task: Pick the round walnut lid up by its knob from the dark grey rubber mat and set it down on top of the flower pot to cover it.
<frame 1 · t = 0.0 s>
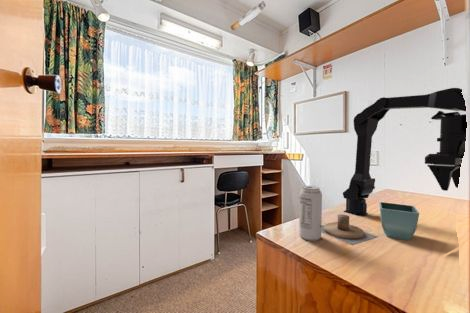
hand: (452, 189, 61), 15 cm above the worktop, tool pointing down, fingers open, 9 cm apart
energy drink can: (310, 239, 63), on the worktop
mat: (343, 233, 67), on the worktop
lid: (343, 232, 67), resting on mat
flower pot: (396, 237, 64), on the worktop
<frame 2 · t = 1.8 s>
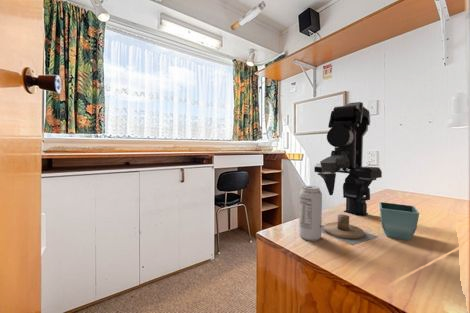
hand: (343, 198, 66), 11 cm above the worktop, tool pointing down, fingers open, 9 cm apart
nothing on the worktop moved.
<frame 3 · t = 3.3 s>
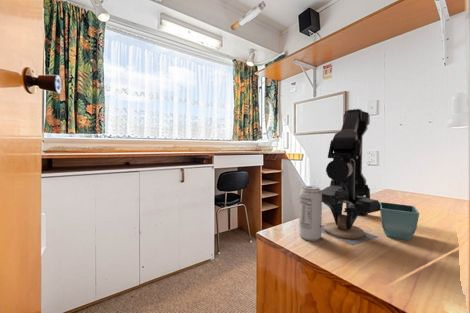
hand: (343, 227, 67), 2 cm above the worktop, tool pointing down, fingers closed on lid, 3 cm apart
lid: (343, 231, 67), resting on mat, touching gripper
everything else where it was.
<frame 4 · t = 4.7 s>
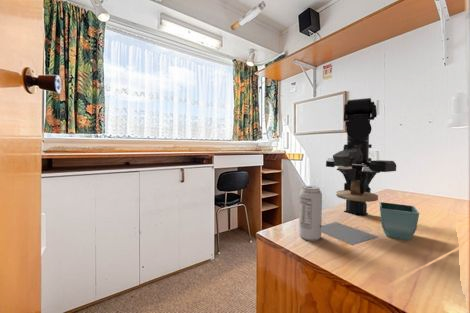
hand: (356, 192, 66), 13 cm above the worktop, tool pointing down, fingers closed on lid, 3 cm apart
lid: (356, 197, 66), point 11 cm above the worktop, touching gripper
everything else where it was.
when the fingers open (12 cm above the worktop, at t = 5.9 s): lid drops 1 cm, resting on flower pot.
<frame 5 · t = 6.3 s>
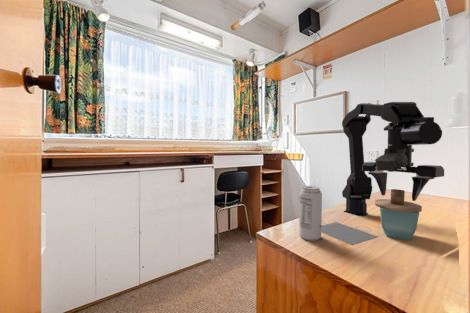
hand: (397, 197, 64), 12 cm above the worktop, tool pointing down, fingers open, 8 cm apart
lid: (397, 206, 64), point 9 cm above the worktop, touching flower pot
flower pot: (396, 237, 64), on the worktop, touching lid
everything else where it was.
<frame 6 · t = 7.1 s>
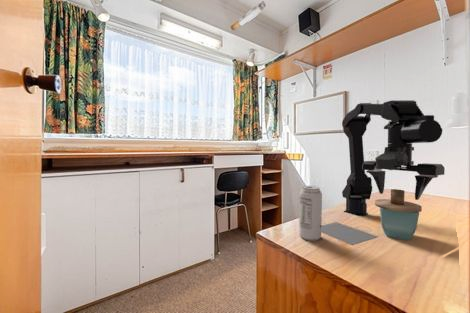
hand: (398, 196, 64), 12 cm above the worktop, tool pointing down, fingers open, 9 cm apart
nothing on the worktop moved.
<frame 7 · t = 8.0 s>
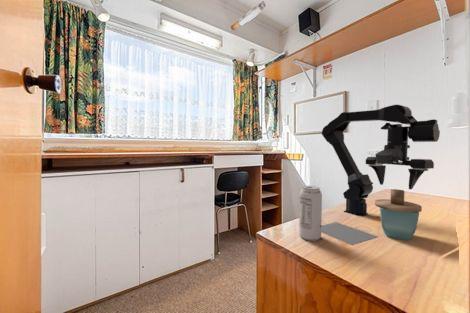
hand: (395, 186, 75), 13 cm above the worktop, tool pointing down, fingers open, 9 cm apart
nothing on the worktop moved.
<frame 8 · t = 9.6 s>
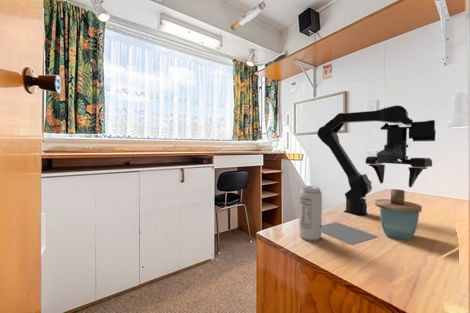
hand: (395, 185, 78), 13 cm above the worktop, tool pointing down, fingers open, 9 cm apart
nothing on the worktop moved.
at the end: lid 0.1 cm off-centre on the flower pot, point 9.1 cm above the flower pot's base; the gripper is holding nothing; lid tilted 0° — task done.
